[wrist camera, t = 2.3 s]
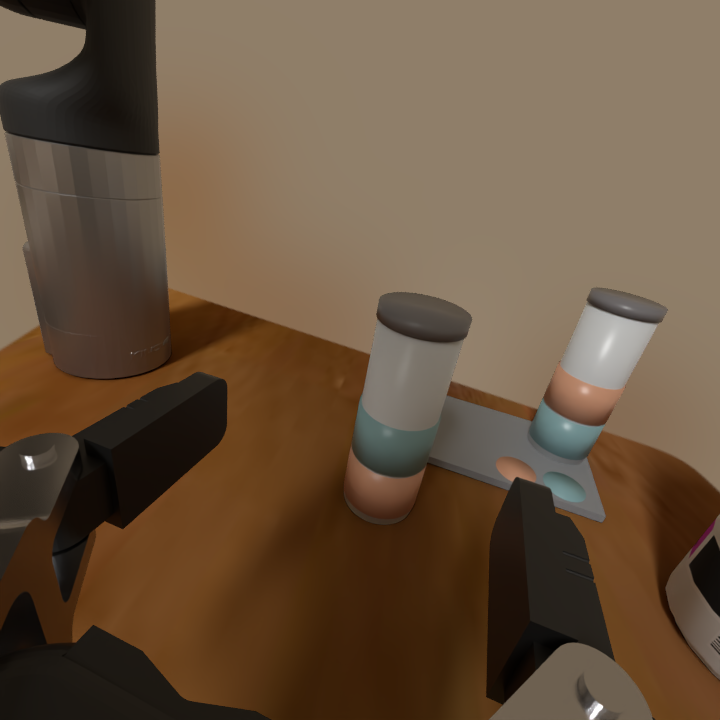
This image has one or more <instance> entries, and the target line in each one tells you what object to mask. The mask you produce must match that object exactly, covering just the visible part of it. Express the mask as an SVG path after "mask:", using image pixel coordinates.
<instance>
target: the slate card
mask: <svg viewBox="0 0 720 720" xmlns="http://www.w3.org/2000/svg"><path fill="white" fill-rule="evenodd" d="M531 424H532V421H529V420H525V419H522V418H519V417H515V416H512V415H509V414H506V413H502V412H499V411H496V410H492V409H489V408H486V407H483V406H479V405H476V404H473V403H469V402H466V401H463V400H460V399H456V398H453V397H450V396H446V398H445V401H444V405H443V408H442V411H441V420H440V424H439V427H438V430H437V433H436V436H435V440H434V443H433V446H432V449H431V452H430V456H429V459H428V463H431V464H434V465H436V466H439V467H442V468H445V469H448V470H451V471H454V472H457V473H460V474H462V475H465V476H468V477H471V478H474V479H477V480H480V481H483V482H486V483H488V484H491V485H494V486H497V487H500V488H503V489H506V490H509V489H510V487H511V485H512V483H513V481H514V479H515V478H516V477H519V478H522V479H525V480H528V481H531V482H534V483H538V484H541V485H544V486H547V487H549V488H550V489H551V491H552V496H553V501H554V506H555V507H558V508H561V509H564V510H567V511H569V512H572V513H575V514H578V515H581V516H584V517H587V518H590V519H593V520H596V521H598V522H601V523H602V522H603V520H604V519H605V517H606V516H605V513H604V510H603V506H602V503H601V500H600V497H599V494H598V491H597V488H596V485H595V482H594V479H593V475H592V472H591V469H590V466H589V463H588V460H587V457H586V458H585V459H584V461H583V462H582V463H580V464H577V465H567V464H562V463H559V462H556V461H553V460H551V459H549V458H547V457H545V456H544V455H542V454H541V453H539V452H538V451H537V450H536V449H535V448H534V447H533V446H532V445H531V444H530V442H529V440H528V433H529V428H530V426H531Z"/></svg>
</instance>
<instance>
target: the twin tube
mask: <svg viewBox="0 0 720 720" xmlns="http://www.w3.org/2000/svg"><path fill="white" fill-rule="evenodd" d="M587 301H588V302H587V304H586V306H585V308H584V311H583V313H582V315H581V317H580V320H579V322H578V324H577V326H576V329H575V331H574V333H573V335H572V337H571V340H570V342H569V344H568V346H567V349H566V351H565V353H564V355H563V358H562V360H561V361H559V363H558V365H557V368H556V370H555V372H554V374H553V376H552V379H551V381H550V383H549V386H548V388H547V390H546V392H545V395H544V397H543V399H542V401H541V403H540V406H539V408H538V410H537V412H536V415H535V417H534V419H533V421H532V424H531V426H530V428H529V433H528V440H529V442H530V444H531V445H532V446H533V447H534V448H535V449H536V450H537V451H538V452H539V453H541V454H542V455H544V456H545V457H547V458H549V459H551V460H553V461H556V462H559V463H562V464H567V465H577V464H580V463H582V462H583V461H584V459H585V458H586V457H587V456H588V454H589V453H590V451H591V449H592V447H593V445H594V444H595V442H596V440H597V438H598V436H599V435H600V433H601V431H602V429H603V427H604V425H605V423H606V422H607V420H608V418H609V416H610V415H611V413H612V411H613V409H614V407H615V405H616V404H617V402H618V400H619V398H620V396H621V395H622V393H623V391H624V389H625V387H626V382H627V380H628V378H629V376H630V375H631V373H632V371H633V369H634V368H635V366H636V364H637V362H638V360H639V358H640V357H641V355H642V353H643V351H644V349H645V347H646V346H647V344H648V342H649V340H650V338H651V337H652V335H653V333H654V331H655V329H656V327H657V326H658V324H659V323H660V322H662V320H663V318H664V316H665V315H666V313H667V311H668V309H667V308H666V307H664V306H662V305H660V304H659V303H656V302H654V301H651V300H648V299H645V298H643V297H640V296H636V295H633V294H629V293H625V292H621V291H617V290H612V289H606V288H592V289H591V291H590V294H589V296H588V298H587Z"/></svg>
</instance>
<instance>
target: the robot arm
mask: <svg viewBox="0 0 720 720" xmlns="http://www.w3.org/2000/svg"><path fill="white" fill-rule="evenodd" d="M0 6H2V7H4V8H6V9H9V10H11V11H13V12H16V13H19V14H22V15H25V16H30V17H33V18H38V19H43V20H46V21H51V22H55V23H59V24H64V25H68V26H73V27H77V28H81V29H85V30H86V39H85V44H84V47H83V49H82V51H81V53H80V54H79V55H78V56H77V57H75V58H74V59H73V60H72V61H71V62H69V63H68V64H66V65H64V66H62V67H60V68H58V69H56V70H53V71H50V72H47V73H43V74H40V75H35V76H30V77H24V78H18V79H13V80H9V81H6V82H4V83H2V84H1V85H0V115H1V120H2V124H3V129H4V130H5V131H7V132H5V137H6V142H7V146H8V151H9V156H10V161H11V165H12V170H13V175H14V179H15V181H16V187H17V192H18V197H19V201H20V206H21V210H22V215H23V219H24V224H25V229H26V233H27V238H28V242H26V243H25V244H24V245H23V252H24V257H25V261H26V265H27V270H28V274H29V279H30V283H31V288H32V292H33V296H34V301H35V306H36V310H37V315H38V319H39V324H40V328H41V333H42V337H43V341H44V346H45V350H46V352H47V353H49V354H52V355H53V360H54V363H55V365H56V366H57V368H59V369H60V370H62V371H63V372H66V373H68V374H71V375H74V376H79V377H84V378H95V379H109V378H120V377H127V376H132V375H137V374H141V373H144V372H147V371H150V370H152V369H154V368H157V367H159V366H160V365H162V364H163V363H165V362H166V361H167V360H168V359H169V357H170V355H171V334H170V316H169V314H170V313H169V296H168V280H167V264H166V248H165V232H164V215H163V199H162V184H161V168H160V156H159V155H158V154H159V139H158V102H157V101H158V100H157V79H156V45H155V0H0ZM226 427H227V383H226V381H225V380H224V379H221V378H218V377H215V376H212V375H208V374H205V373H202V372H196V373H194V374H193V375H191V376H189V377H187V378H186V379H184V380H182V381H181V382H179V383H174V384H170V385H167V386H163V387H160V388H157V389H155V390H153V391H151V392H149V393H148V394H146V395H144V396H142V397H141V398H140V400H138V399H137V400H135V401H134V402H132V403H130V404H128V405H127V407H126V408H125V407H123V408H121V409H119V410H118V411H116V412H114V413H112V414H110V415H109V416H107V417H105V418H103V419H102V420H100V421H98V422H96V423H95V424H93V425H91V426H89V427H87V428H86V429H84V430H82V431H80V432H79V433H77V434H75V435H73V436H69V435H67V434H61V433H46V434H39V435H34V436H30V437H27V438H24V439H21V440H19V441H17V442H14V443H13V444H11V445H9V446H7V447H0V720H271V719H269V718H267V717H265V716H263V715H262V714H260V713H258V712H256V711H251V710H244V709H238V708H231V707H225V706H218V705H212V704H205V703H199V702H192V701H188V700H186V699H184V698H182V697H181V696H180V695H179V694H178V693H177V691H176V690H175V689H174V688H173V687H172V685H171V684H170V683H169V682H168V681H167V680H166V678H165V677H164V676H163V675H162V674H161V673H160V671H159V670H158V669H157V668H156V667H155V665H154V664H153V663H152V662H151V661H150V660H149V658H148V657H147V656H146V655H145V654H144V652H143V651H141V650H140V649H138V648H136V647H134V646H132V645H130V644H128V643H126V642H124V641H123V640H121V639H119V638H117V637H115V636H113V635H111V634H109V633H108V632H106V631H104V630H102V629H100V628H98V627H96V626H94V625H93V626H92V627H91V628H90V629H89V630H88V631H87V632H86V633H85V634H84V635H83V636H82V637H81V638H80V639H79V640H78V641H77V642H76V643H72V625H73V617H74V612H75V608H76V605H77V601H78V598H79V594H80V591H81V587H82V584H83V580H84V577H85V574H86V570H87V567H88V563H89V560H90V556H91V553H92V549H93V546H94V542H95V538H96V531H95V529H96V528H97V527H98V526H99V525H100V524H102V523H103V522H104V521H106V522H108V523H110V524H112V525H115V526H117V527H119V528H121V529H124V528H125V527H126V526H127V525H128V524H129V523H130V522H132V521H133V520H134V519H135V518H136V517H137V516H138V515H139V514H141V513H142V512H143V511H144V510H145V509H146V508H147V507H148V506H150V505H151V504H152V503H153V502H154V501H155V500H156V499H157V498H159V497H160V496H161V495H162V494H163V493H164V492H165V491H166V490H168V489H169V488H170V487H171V486H172V485H173V484H174V483H175V482H177V481H178V480H179V479H180V478H181V477H182V476H183V475H184V474H186V473H187V472H188V471H189V470H190V469H191V468H192V467H193V466H195V465H196V464H197V463H198V462H199V461H200V460H201V459H202V458H204V457H205V456H206V455H207V454H208V453H209V452H210V451H211V450H213V449H214V448H215V447H216V446H217V445H218V444H219V443H220V441H221V440H222V438H223V436H224V434H225V431H226ZM593 580H594V576H593V572H592V568H591V565H590V564H589V556H588V552H587V548H586V544H585V540H584V538H583V536H582V535H581V533H580V532H579V530H578V529H577V528H576V526H575V525H574V523H573V522H572V520H571V519H570V517H567V516H564V515H561V514H558V513H556V512H555V507H554V501H553V496H552V491H551V489H550V488H549V487H547V486H544V485H541V484H538V483H534V482H531V481H528V480H525V479H522V478H519V477H516V478H515V479H514V481H513V483H512V485H511V487H510V489H509V492H508V494H507V496H506V499H505V501H504V503H503V505H502V508H501V510H500V512H499V515H498V517H497V519H496V522H495V524H494V528H493V531H492V536H491V541H490V558H489V601H488V644H487V687H486V697H487V698H490V699H492V700H494V701H496V702H498V703H501V704H503V706H502V707H501V708H500V709H499V710H498V711H497V712H496V713H495V714H494V715H493V716H492V717H491V718H490V719H489V720H655V719H654V718H653V717H652V715H651V712H650V710H649V707H648V705H647V702H646V701H645V699H644V697H643V695H642V693H641V692H640V690H639V689H638V687H637V686H636V684H635V683H634V682H633V680H632V679H631V678H630V677H629V675H628V674H627V673H626V672H625V671H624V670H623V669H622V668H621V667H620V666H619V665H618V664H617V663H616V662H615V659H614V656H613V652H612V648H611V644H610V640H609V636H608V632H607V628H606V624H605V620H604V616H603V612H602V608H601V604H600V600H599V596H598V592H597V588H596V584H595V583H593Z"/></svg>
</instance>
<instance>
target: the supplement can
mask: <svg viewBox="0 0 720 720" xmlns="http://www.w3.org/2000/svg"><path fill="white" fill-rule="evenodd" d="M665 589H666V594H667V598H668V603H669V607H670V610H671V612H672V614H673V616H674V618H675V622H676V624H677V625H678V627H679V629H680V631H681V632H682V634H683V636H684V638H685V639H686V641H687V643H688V645H689V646H690V647H691V649H692V650H693V651H694V652H695V653H696V655H697V656H698V657H699V658H700V659H701V661H702V662H703V663H704V664H705V665H706V666H707V668H708V669H709V670H710V671H711V672H712V674H714V675H715V676H716V677H717V678H718V679H719V680H720V514H719V516H718V517H717V518H716V519H715V520H714V522H713V523H712V524H711V525H710V527H709V528H708V529H707V530H706V532H705V533H704V534H703V535H702V536H701V538H700V539H699V540H698V541H697V543H696V544H695V545H694V546H693V547H692V549H691V550H690V551H689V552H688V554H687V555H686V556H685V557H684V558H683V560H682V561H681V562H680V563H679V565H678V566H677V567H676V568H675V569H674V571H673V572H672V573H671V575H670V577H669V580H668V582H667V585H666V587H665Z"/></svg>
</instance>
